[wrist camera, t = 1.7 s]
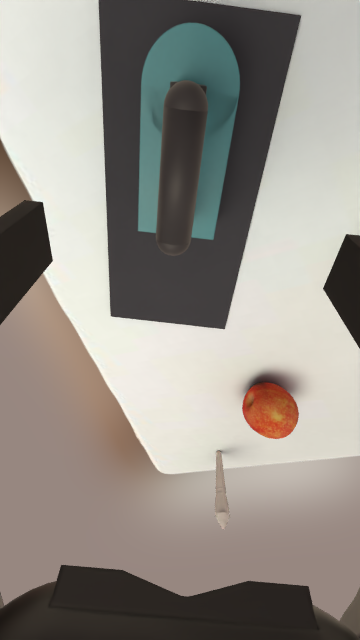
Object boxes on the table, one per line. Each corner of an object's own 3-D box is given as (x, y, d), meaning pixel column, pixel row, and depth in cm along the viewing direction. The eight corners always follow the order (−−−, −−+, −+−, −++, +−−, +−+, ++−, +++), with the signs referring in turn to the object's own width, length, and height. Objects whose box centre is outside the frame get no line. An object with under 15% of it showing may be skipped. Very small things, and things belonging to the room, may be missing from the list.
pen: (221, 447, 63) (226, 525, 52) (227, 453, 64) (233, 531, 53) (210, 450, 64) (213, 528, 53) (216, 456, 65) (220, 533, 54)
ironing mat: (99, -11, 25) (98, -13, 24) (299, 16, 25) (301, 15, 25) (111, 314, 44) (110, 316, 44) (224, 327, 44) (224, 329, 44)
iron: (214, 221, 35) (221, 284, 24) (142, 213, 35) (116, 272, 24) (246, 33, 25) (282, -2, 15) (148, 20, 25) (109, -26, 14)
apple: (261, 411, 55) (269, 454, 49) (229, 388, 52) (233, 430, 46) (300, 390, 52) (314, 433, 45) (268, 364, 48) (278, 407, 42)
